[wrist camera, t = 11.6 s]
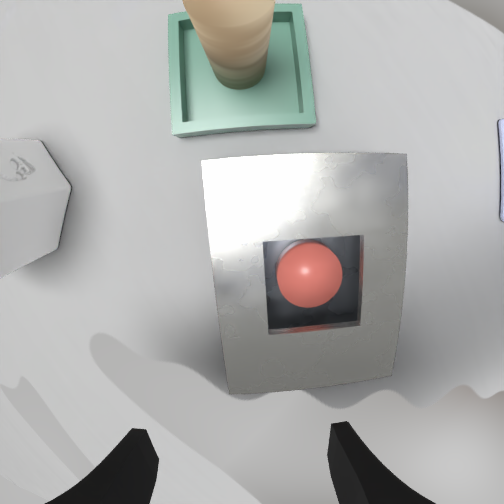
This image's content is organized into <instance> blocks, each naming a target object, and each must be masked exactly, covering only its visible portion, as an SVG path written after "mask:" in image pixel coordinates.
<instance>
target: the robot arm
mask: <svg viewBox="0 0 504 504" xmlns="http://www.w3.org/2000/svg"><path fill="white" fill-rule="evenodd" d="M498 125H499V136H500V152H501V214H500V217H501V220H502V221H503V222H504V119H500V120H499V123H498ZM327 456H328V462H329V468H330V474H331V478H332V481H333V485H334V488H335V491H336V495H337V498H338V501H339V504H435V503H434V502H432V501H430V500H428V499H427V498H425V497H423V496H422V495H420V494H419V493H417V492H416V491H414V490H412V489H411V488H410V487H408V486H407V485H406V484H405V483H403V482H402V481H401V480H400V479H399V478H397V477H396V476H395V475H394V474H393V473H392V472H391V471H390V470H389V469H387V468H386V467H385V466H384V465H383V464H382V463H381V462H380V461H379V460H378V459H377V457H376V456H375V455H374V454H373V453H372V452H371V451H370V450H369V448H368V447H367V446H366V445H365V444H364V442H363V441H362V440H361V439H360V437H359V436H358V435H357V433H356V432H355V431H354V429H353V428H352V426H351V425H350V424H349V422H347V421H345V422H339V423H333V424H331V431H330V438H329V446H328V454H327ZM158 464H159V458H158V456H157V454H156V452H155V449H154V447H153V445H152V442H151V440H150V438H149V435H148V433H147V430H146V429H135V428H132V429H131V430H130V431H129V432H128V433H127V435H126V436H125V437H124V438H123V439H122V440H121V441H120V443H119V444H118V445H117V446H116V447H115V448H114V449H113V450H112V451H111V452H110V454H109V455H108V456H107V457H106V458H105V459H104V460H103V461H102V462H101V463H100V464H99V465H98V466H97V467H96V468H95V469H94V470H93V471H91V472H90V473H89V474H88V475H87V476H86V477H85V478H84V479H82V480H81V481H80V482H79V483H77V484H76V485H75V486H73V487H72V488H71V489H69V490H68V491H66V492H65V493H63V494H61V495H60V496H58V497H56V498H55V499H53V500H51V501H49V502H47V503H45V504H149V503H150V500H151V496H152V493H153V489H154V486H155V482H156V478H157V471H158Z"/></svg>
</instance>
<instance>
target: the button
mask: <svg viewBox="0 0 504 504" xmlns="http://www.w3.org/2000/svg"><path fill="white" fill-rule="evenodd" d="M276 277H277V281H278V285H279V289H280V291H281V293H282V295H283V296H284V297H285V298H286V299H287V300H288V301H289V302H290V303H292V304H294V305H296V306H299V307H305V308H311V307H317V306H320V305H322V304H324V303H326V302H327V301H329V300H330V299H331V298H332V297H333V296H334V295H335V294H336V293H337V291H338V289H339V287H340V285H341V282H342V267H341V264H340V261H339V259H338V258H337V257H336V255H335V254H334V253H333V252H332V251H331V250H330V249H329V248H328V247H327V246H326V245H325V244H323V243H321V242H319V241H316V240H311V239H304V240H299V241H296V242H294V243H292V244H290V245H289V246H287V247H286V248H285V249H284V250H283V251H282V253H281V254H280V256H279V258H278V260H277V264H276Z"/></svg>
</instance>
